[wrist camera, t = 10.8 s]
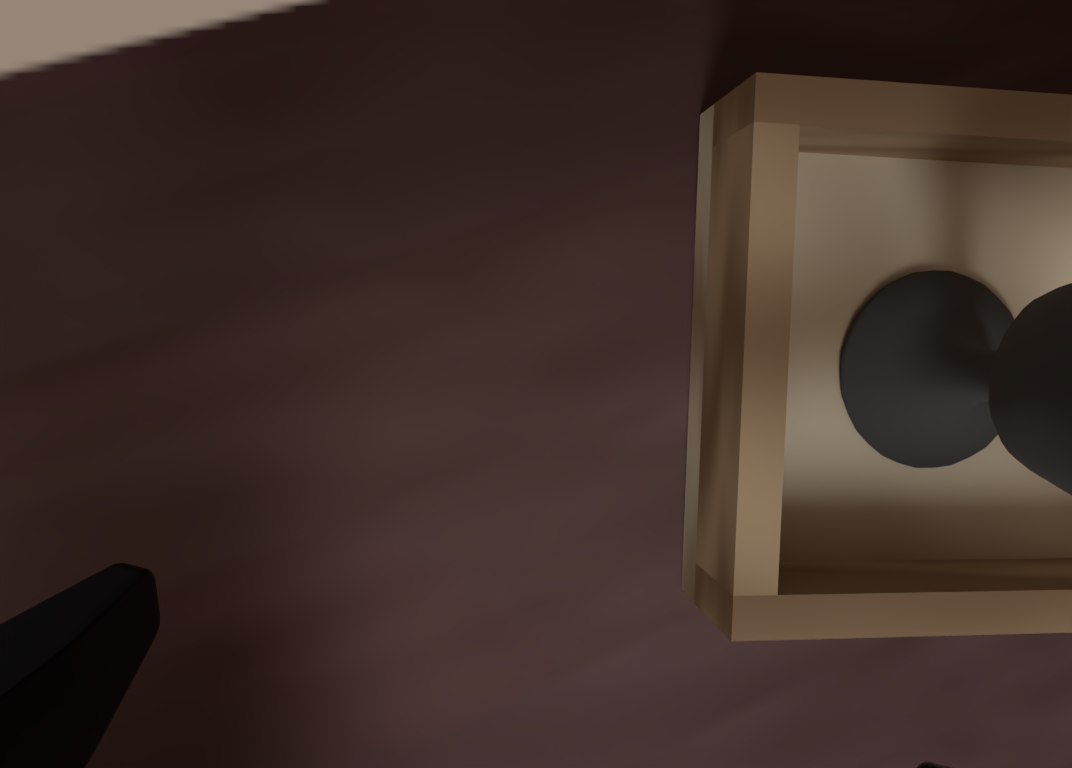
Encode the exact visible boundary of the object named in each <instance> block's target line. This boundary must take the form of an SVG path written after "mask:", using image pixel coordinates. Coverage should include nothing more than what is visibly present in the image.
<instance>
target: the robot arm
mask: <svg viewBox="0 0 1072 768" xmlns="http://www.w3.org/2000/svg"><path fill="white" fill-rule="evenodd" d="M159 624H160V611H159V604H158V596H157V589H156V582H155V577H154V574H153V573H152V572H151V571H150V570H148V569H146V568H142V567H138V566H134V565H130V564H125V563H118V564H114V565H111V566H109V567H107V568H105V569H104V570H102V571H100V572H98V573H96V574H94V575H92V576H90V577H88V578H87V579H85V580H83V581H81V582H79V583H77V584H75V585H73V586H72V587H70V588H68V589H66V590H64V591H62V592H60V593H58V594H56V595H55V596H53V597H51V598H49V599H47V600H45V601H43V602H41V603H39V604H38V605H36V606H34V607H32V608H30V609H28V610H26V611H24V612H23V613H21V614H19V615H17V616H15V617H13V618H11V619H9V620H7V621H6V622H4V623H2V624H0V768H85V766H86V764H87V763H88V761H89V760H90V758H91V757H92V755H93V753H94V751H95V749H96V748H97V746H98V744H99V742H100V741H101V739H102V737H103V735H104V733H105V731H106V729H107V728H108V726H109V724H110V722H111V720H112V718H113V716H114V714H115V712H116V711H117V709H118V707H119V705H120V703H121V701H122V699H123V697H124V695H125V693H126V692H127V690H128V688H129V686H130V684H131V682H132V680H133V678H134V676H135V675H136V673H137V671H138V669H139V667H140V665H141V663H142V661H143V659H144V657H145V656H146V654H147V652H148V650H149V648H150V646H151V644H152V642H153V640H154V638H155V636H156V634H157V631H158V628H159ZM917 768H951V767H947V766H943V765H939V764H935V763H931V762H924V763H922V764H920V765H919V766H918V767H917Z"/></svg>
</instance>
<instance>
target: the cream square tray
mask: <svg viewBox="0 0 1072 768" xmlns="http://www.w3.org/2000/svg"><path fill="white" fill-rule="evenodd" d="M931 270H940V271H953V272H956V273H959V274H962V275H965V276H968V277H970V278H972V279H974V280H976V281H978V282H980V283H982V284H984V285H985V286H986V287H987V288H988V289H989V290H991V291H992V292H993V293H994V294H995V295H996V296H997V297H998V298H999V299H1000V300H1001V302H1002V303H1003V304H1004V305H1005V306H1006V307H1007V308H1008V310H1009V311H1010V312H1011V314H1012V316H1013V318H1014V320H1015V318H1016V317H1017V316H1018V314H1019V313H1020V312H1021V311H1022V309H1023V308H1024V307H1025V306H1027V305H1028V304H1029V303H1030V302H1032V301H1033V300H1034V299H1036V298H1038V297H1040V296H1042V295H1044V294H1046V293H1048V292H1050V291H1052V290H1054V289H1056V288H1058V287H1061V286H1064V285H1067V284H1070V283H1072V95H1068V94H1054V93H1040V92H1026V91H1012V90H998V89H984V88H970V87H956V86H942V85H928V84H914V83H900V82H886V81H872V80H858V79H844V78H830V77H816V76H802V75H788V74H774V73H760V72H756V73H754V74H753V75H752V76H750V77H749V78H748V79H747V80H745V81H744V82H743V83H741V84H740V85H739V86H737V87H736V88H735V89H733V90H732V91H731V92H729V93H728V94H727V95H725V96H724V97H723V98H721V99H720V100H719V101H717V102H716V103H715V104H714V105H712V106H711V107H710V108H708V109H707V110H706V111H704V112H703V113H702V114H700V130H699V155H698V181H697V206H696V232H695V257H694V283H693V308H692V334H691V359H690V385H689V410H688V436H687V461H686V487H685V512H684V538H683V563H682V589H681V590H682V591H683V592H684V593H685V594H686V595H687V596H688V597H689V598H690V599H691V600H692V601H693V602H694V603H695V604H696V606H697V607H698V608H699V609H700V610H701V611H702V612H703V613H704V614H705V615H706V616H707V617H708V618H709V619H710V620H711V621H712V622H713V623H714V624H715V625H716V626H717V627H718V628H719V629H720V630H721V631H722V632H723V633H724V634H725V635H726V636H727V637H728V638H729V639H730V640H731V641H763V640H802V639H840V638H879V637H917V636H956V635H994V634H1033V633H1071V632H1072V495H1070V494H1068V493H1067V492H1065V491H1063V490H1062V489H1060V488H1058V487H1057V486H1055V485H1053V484H1052V483H1050V482H1048V481H1047V480H1045V479H1043V478H1042V477H1040V476H1038V475H1037V474H1035V473H1033V472H1032V471H1030V470H1029V469H1028V468H1026V467H1025V466H1024V465H1023V464H1021V463H1020V462H1019V461H1018V460H1016V459H1015V458H1014V457H1013V456H1012V455H1011V454H1010V453H1009V452H1008V451H1007V449H1006V448H1005V447H1004V445H1003V444H1002V442H1001V440H1000V438H999V435H997V436H996V437H995V438H994V439H993V440H992V442H991V443H990V444H989V445H988V446H987V447H986V448H984V449H983V450H981V451H979V452H978V453H976V454H974V455H973V456H971V457H969V458H967V459H965V460H962V461H960V462H958V463H955V464H953V465H950V466H943V467H936V468H914V467H911V466H907V465H904V464H900V463H897V462H895V461H893V460H891V459H888V458H886V457H884V456H882V455H881V454H880V453H878V452H877V451H876V450H875V449H874V448H872V447H871V446H870V445H869V444H868V443H867V442H866V441H865V440H864V439H863V438H862V436H861V435H860V434H859V433H858V432H857V431H856V429H855V427H854V425H853V423H852V421H851V419H850V417H849V415H848V413H847V410H846V408H845V405H844V402H843V399H842V396H841V386H840V358H841V353H842V350H843V346H844V343H845V340H846V336H847V334H848V332H849V329H850V327H851V325H852V323H853V320H854V318H855V317H856V316H857V314H858V313H859V312H860V310H861V309H862V308H863V307H864V305H865V304H866V303H867V302H868V301H869V300H870V299H871V298H872V297H873V296H874V295H875V294H876V293H877V292H878V291H879V290H880V289H881V288H883V287H885V286H886V285H888V284H890V283H892V282H893V281H895V280H897V279H899V278H902V277H904V276H906V275H909V274H911V273H914V272H922V271H931Z"/></svg>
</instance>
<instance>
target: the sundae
mask: <svg viewBox="0 0 1072 768" xmlns="http://www.w3.org/2000/svg"><path fill="white" fill-rule="evenodd" d="M840 386H841V396H842V399H843V402H844V405H845V408H846V410H847V413H848V415H849V417H850V419H851V421H852V423H853V425H854V427H855V429H856V431H857V432H858V433H859V434H860V435H861V436H862V438H863V439H864V440H865V441H866V442H867V443H868V444H869V445H870V446H871V447H872V448H874V449H875V450H876V451H877V452H878V453H880V454H881V455H882V456H884V457H886V458H888V459H891V460H893V461H895V462H897V463H900V464H904V465H907V466H911V467H914V468H936V467H943V466H950V465H953V464H955V463H958V462H960V461H962V460H965V459H967V458H969V457H971V456H973V455H974V454H976V453H978V452H979V451H981V450H983V449H984V448H986V447H987V446H988V445H989V444H990V443H991V442H992V440H993V439H994V438H995V437H996V436H997V435H999V438H1000V440H1001V442H1002V444H1003V445H1004V447H1005V448H1006V449H1007V451H1008V452H1009V453H1010V454H1011V455H1012V456H1013V457H1014V458H1015V459H1016V460H1018V461H1019V462H1020V463H1021V464H1023V465H1024V466H1025V467H1026V468H1028V469H1029V470H1030V471H1032V472H1033V473H1035V474H1037V475H1038V476H1040V477H1042V478H1043V479H1045V480H1047V481H1048V482H1050V483H1052V484H1053V485H1055V486H1057V487H1058V488H1060V489H1062V490H1063V491H1065V492H1067V493H1068V494H1070V495H1072V283H1070V284H1067V285H1064V286H1061V287H1058V288H1056V289H1054V290H1052V291H1050V292H1048V293H1046V294H1044V295H1042V296H1040V297H1038V298H1036V299H1034V300H1033V301H1032V302H1030V303H1029V304H1028V305H1027V306H1025V307H1024V308H1023V309H1022V311H1021V312H1020V313H1019V314H1018V316H1017V317H1016V318H1015V320H1014V318H1013V316H1012V314H1011V312H1010V311H1009V310H1008V308H1007V307H1006V306H1005V305H1004V304H1003V303H1002V302H1001V300H1000V299H999V298H998V297H997V296H996V295H995V294H994V293H993V292H992V291H991V290H989V289H988V288H987V287H986V286H985V285H984V284H982V283H980V282H978V281H976V280H974V279H972V278H970V277H968V276H965V275H962V274H959V273H956V272H953V271H940V270H931V271H922V272H914V273H911V274H909V275H906V276H904V277H902V278H899V279H897V280H895V281H893V282H892V283H890V284H888V285H886V286H885V287H883V288H881V289H880V290H879V291H878V292H877V293H876V294H875V295H874V296H873V297H872V298H871V299H870V300H869V301H868V302H867V303H866V304H865V305H864V307H863V308H862V309H861V310H860V312H859V313H858V314H857V316H856V317H855V318H854V320H853V323H852V325H851V327H850V329H849V332H848V334H847V336H846V340H845V343H844V346H843V350H842V353H841V358H840Z"/></svg>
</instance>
